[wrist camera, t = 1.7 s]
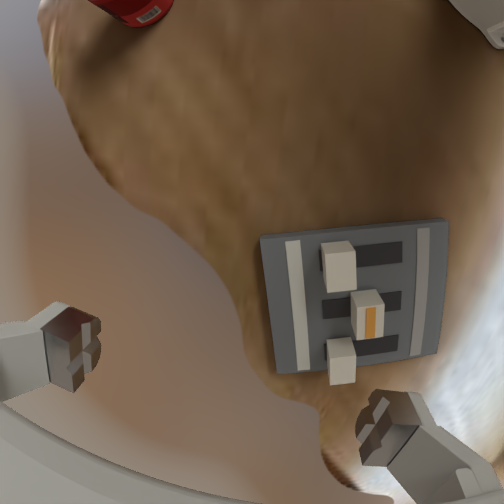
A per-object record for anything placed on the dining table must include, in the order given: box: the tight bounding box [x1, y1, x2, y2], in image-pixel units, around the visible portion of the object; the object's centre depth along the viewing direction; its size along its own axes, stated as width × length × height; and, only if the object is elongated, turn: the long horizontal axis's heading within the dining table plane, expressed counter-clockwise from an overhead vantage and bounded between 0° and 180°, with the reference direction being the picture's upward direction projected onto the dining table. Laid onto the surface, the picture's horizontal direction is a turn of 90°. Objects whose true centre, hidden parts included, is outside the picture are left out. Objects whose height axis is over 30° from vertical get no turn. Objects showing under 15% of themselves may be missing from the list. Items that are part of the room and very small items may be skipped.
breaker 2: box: [327, 337, 356, 385], centre depth 35 cm, size 3×4×4 cm
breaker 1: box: [321, 241, 357, 293], centre depth 32 cm, size 3×4×4 cm
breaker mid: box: [351, 289, 385, 340], centre depth 33 cm, size 3×4×4 cm
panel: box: [260, 218, 449, 374], centre depth 36 cm, size 22×18×2 cm
